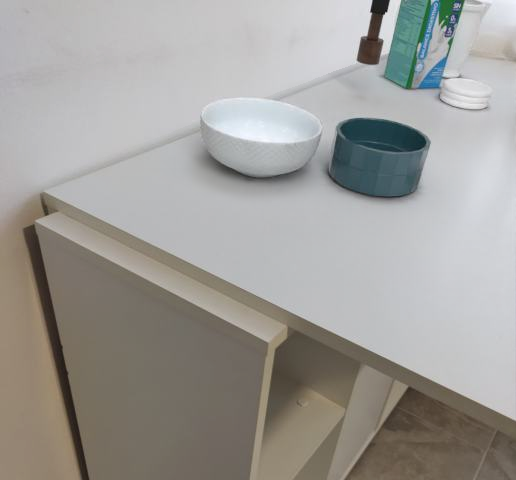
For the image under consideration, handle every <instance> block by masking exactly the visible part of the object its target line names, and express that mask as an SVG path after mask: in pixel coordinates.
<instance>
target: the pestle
mask: <svg viewBox="0 0 516 480" xmlns="http://www.w3.org/2000/svg"><path fill="white" fill-rule="evenodd" d="M370 14H371V15H370V20H369V23H368V30H367V34H366V35H363V36H361V37H360V41H359V44H358V50H357V55H356V61H357V62H358V63H360V64H363V65H368V66H376V65H377V66H378V65H379V64H380V59H381V55H382V50H383V46H384V43H385V40H384V39H383V38H381V37H380V32H381V28H382V23H383V19H384V15H382V14H376V13H370Z"/></svg>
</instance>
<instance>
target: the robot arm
mask: <svg viewBox="0 0 516 480" xmlns="http://www.w3.org/2000/svg"><path fill="white" fill-rule="evenodd" d="M390 2H391V0H371V4H370V10H369V13H370V14H372V13H376V14H382V15H383V16H385V15H386V13H388V12H389V6H390Z"/></svg>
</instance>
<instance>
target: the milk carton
mask: <svg viewBox="0 0 516 480" xmlns="http://www.w3.org/2000/svg"><path fill="white" fill-rule="evenodd" d="M464 2H465V0H401V1H400V4H399V7H398V8H399V9H398V13H397V17H396V21H395V26H394V29H393V34H392V39H391V43H390V47H389V52H388V57H387V61H386V65H385V68H384V69H385V70H384V74H383V77H384V78H386V79H388V80H389V81H391V82H394V83H395V84H397V85H399V86H400V87H403V88H404V89H406V90H408V89H409V90H410V89H411V90H414V89H433V88H435V89H436V88H440V85H441V81H442V78H443V77H442V75H443V72H444V69H445V65H446V62H447V59H448V55H449V52H450V49H451V45H452V42H453V39H454V35H455V32H456V29H457V25H458V22H459V19H460V15H461V12H462V9H463V5H464Z"/></svg>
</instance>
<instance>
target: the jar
mask: <svg viewBox="0 0 516 480" xmlns="http://www.w3.org/2000/svg"><path fill="white" fill-rule="evenodd" d="M486 8H487V4H486V3H484V2H482V1H479V0H465V2H464V5H463V9H462V12H461V15H460V19H459V22H458V25H457V29H456V32H455V35H454V39H453V42H452V45H451V49H450V52H449V55H448V59H447V62H446V65H445V69H444V72H443V75H442V78H444V79H445V78H447V79H449V78H459V77H460V75H461V72H460V68H461V67H462V66H463V65H464V64H465V62H466V60H467V59H468V57H469V55H470V52H471V50H472V49H473V46H474V44H475V41H476V39H477V36H478V34H479V30H480V26H481V22H482V21H481V20H482V13H483V12H484V11H485V10H486Z"/></svg>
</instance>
